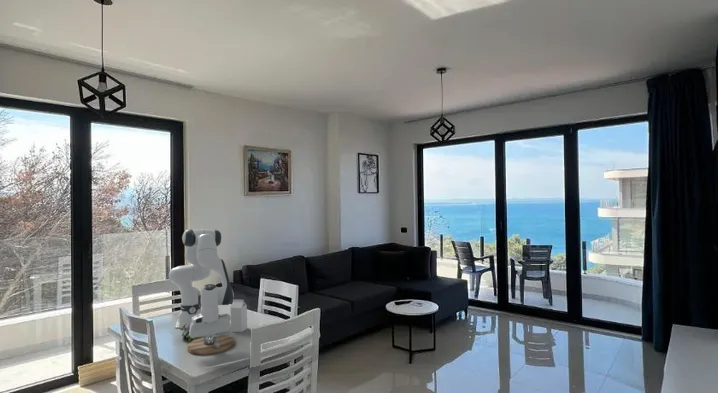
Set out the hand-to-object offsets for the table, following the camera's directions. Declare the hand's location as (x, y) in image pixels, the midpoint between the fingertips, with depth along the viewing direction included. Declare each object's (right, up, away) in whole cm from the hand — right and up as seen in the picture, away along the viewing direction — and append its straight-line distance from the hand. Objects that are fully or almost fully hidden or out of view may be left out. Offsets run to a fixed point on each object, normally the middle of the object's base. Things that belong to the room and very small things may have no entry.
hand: (210, 342), depth 211 cm
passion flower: (-19, -6, +22) cm, 30 cm away
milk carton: (+4, -6, +36) cm, 36 cm away
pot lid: (-3, -3, +9) cm, 10 cm away
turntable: (-3, -5, +9) cm, 11 cm away
